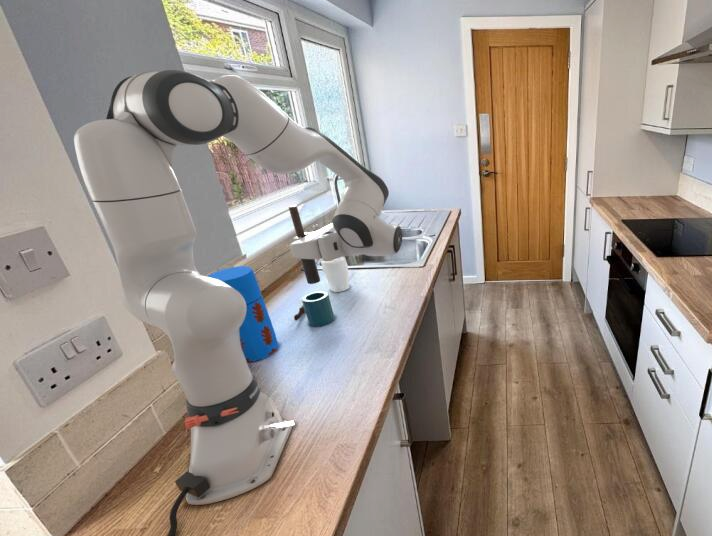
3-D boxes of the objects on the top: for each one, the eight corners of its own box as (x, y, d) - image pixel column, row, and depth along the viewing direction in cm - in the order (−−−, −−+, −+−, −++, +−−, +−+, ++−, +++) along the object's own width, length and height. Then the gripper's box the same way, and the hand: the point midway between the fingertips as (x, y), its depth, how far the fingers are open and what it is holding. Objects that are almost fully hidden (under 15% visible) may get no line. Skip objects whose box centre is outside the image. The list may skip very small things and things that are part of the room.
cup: (343, 282, 163) (337, 254, 158) (357, 286, 158) (350, 258, 153) (323, 290, 157) (315, 261, 152) (336, 295, 152) (329, 265, 147)
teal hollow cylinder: (334, 323, 132) (327, 298, 129) (308, 328, 130) (301, 303, 126) (334, 312, 139) (328, 289, 135) (309, 317, 137) (302, 294, 133)
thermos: (260, 363, 113) (229, 282, 102) (228, 360, 115) (195, 280, 105) (287, 342, 123) (261, 266, 112) (257, 340, 125) (229, 265, 114)
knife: (308, 300, 149) (306, 293, 148) (313, 299, 149) (311, 292, 148) (294, 324, 133) (291, 316, 132) (299, 324, 133) (296, 316, 132)
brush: (320, 282, 115) (298, 206, 106) (307, 284, 114) (284, 208, 105) (320, 278, 118) (300, 203, 108) (308, 280, 117) (286, 205, 107)
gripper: (361, 216, 116) (318, 216, 118) (318, 239, 98) (269, 239, 100) (366, 237, 118) (324, 237, 121) (324, 263, 100) (276, 262, 103)
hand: (298, 238), depth 110 cm, fingers closed on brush, 2 cm apart
